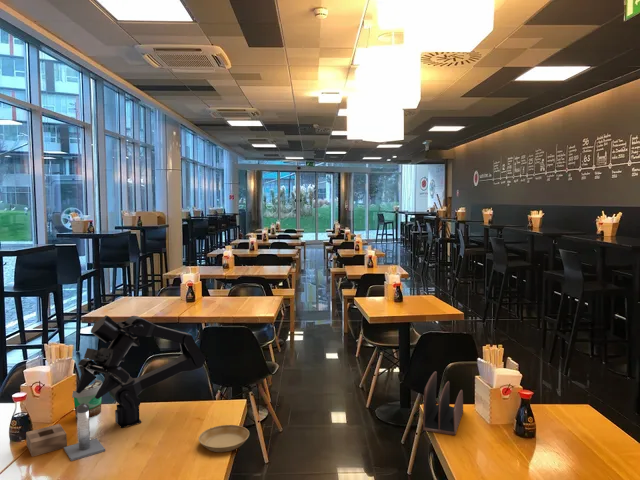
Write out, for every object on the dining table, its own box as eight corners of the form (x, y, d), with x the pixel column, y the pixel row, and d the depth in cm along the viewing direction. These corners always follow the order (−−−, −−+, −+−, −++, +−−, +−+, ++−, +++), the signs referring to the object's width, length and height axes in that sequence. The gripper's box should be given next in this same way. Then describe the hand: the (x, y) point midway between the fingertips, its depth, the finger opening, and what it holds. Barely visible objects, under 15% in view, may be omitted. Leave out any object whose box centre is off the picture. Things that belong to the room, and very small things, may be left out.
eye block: (60, 436, 152) (59, 423, 152) (66, 446, 145) (66, 433, 145) (26, 445, 147) (26, 432, 146) (31, 456, 140) (31, 442, 139)
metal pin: (84, 444, 145) (82, 401, 144) (93, 446, 144) (91, 402, 143) (75, 449, 142) (74, 405, 141) (84, 451, 141) (82, 406, 140)
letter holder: (422, 431, 153) (422, 386, 153) (433, 407, 172) (434, 367, 171) (455, 436, 149) (455, 390, 149) (463, 411, 168) (463, 371, 167)
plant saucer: (238, 458, 138) (238, 449, 138) (189, 453, 141) (189, 444, 141) (256, 435, 152) (256, 426, 152) (212, 431, 155) (211, 423, 155)
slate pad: (96, 440, 149) (96, 438, 149) (105, 450, 142) (105, 448, 142) (63, 449, 144) (63, 447, 144) (71, 461, 137) (71, 458, 137)
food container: (89, 422, 162) (88, 392, 162) (73, 421, 164) (71, 391, 163) (112, 407, 174) (111, 380, 174) (96, 406, 176) (95, 379, 175)
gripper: (82, 333, 158) (49, 377, 149) (120, 340, 148) (87, 388, 139) (105, 351, 165) (75, 394, 156) (142, 359, 155) (112, 406, 146)
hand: (86, 395), depth 149 cm, fingers open, 9 cm apart
